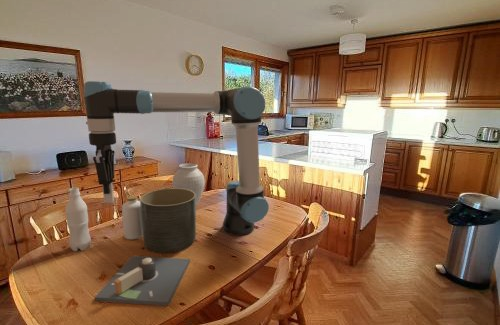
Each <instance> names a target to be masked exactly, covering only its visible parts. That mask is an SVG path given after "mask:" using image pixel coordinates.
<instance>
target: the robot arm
mask: <svg viewBox="0 0 500 325" xmlns="http://www.w3.org/2000/svg"><path fill="white" fill-rule="evenodd" d="M83 93H84V95H83V97H84V105H85V112H86V113H85V114H86V120H87V121H86V122H85V124H86V125H87V129H88V132H89V134H88V140H89V144H90V145H91V146H95V156H93V157H92V160H93V163H94V165H95V170H96V175H97V179H98V185H101V187H102V193H103V195H102V196H103V202H104V204H107V203H108V204H109V203H110V204H111V203H114V202H115V196H114V184H113V183H115V182H116V179H115V150H113V149H112V145H115V144H116V143H117V135H116V133H115V131H116V124H115V122H116V121H115V114H140V115H144V114H152V113H214V114H215V115H217V116H219V115H221V116H222V115H224V116H230V118H231V125H232V126H234V127H235V138H236V151H237V153H236V155H237V169H238V170H237V171H238V172H237V173H238V180H233V181H230V182H229V181H228V182H227V184H226V189H225V191H226V213H225V216H224V219H223V221H222V230H223V231H224V232H225V233H227V234H229V235H234V236H235V235H236V236H243V235H249V234H250V233H252V232H253V231H254V230H255V224H256V223H259V222H260V221H262V220H264V218H265V217H266V216H267V215H268V212H269V210H270V209H269V208H270V206H269V203H268V200H267V199H266V198H265V190H264V186H262V184H260V183H261V179H260V177H261V176H260V156H259V132H258V127H259V125H261V123H262V115H263V113H264V112H265V110H266V100H265V96H264V95H263V93H262V92H261V91H260V90H259V89H258V88H255V87H253V86H241V87H238V88H232V89H231V88H230V89H227V90H221V91H220V90H215V91H214V92H213V93H210V92H209V93H208V92H207V93H205V92H204V93H203V92H163V91H162V92H161V91H158V92H155V91H150V90H144V89H117V88H113V87H112V84H111V83H110V82H107V81H97V80H96V81H95V80H91V81H85V82H84V84H83Z"/></svg>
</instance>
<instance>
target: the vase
mask: <svg viewBox="0 0 500 325" xmlns="http://www.w3.org/2000/svg"><path fill="white" fill-rule="evenodd" d="M198 166H199V165H198V164H196V163H192V162H190V163H185V162H184V163H180V164H179V165H178V167H179V168H178V170H176V172H175V173H174V174H173V176H172V181H171V182H172V188H181V189H188V190H191V191H193V192H194V193H195V194H196V207H197V205H198V204H199V202H200V200H201V198H202V196H203V193H204V189H205V184H206V182H205V176H204V174H203V172H202V171H201V170H200V169H199V168H198Z"/></svg>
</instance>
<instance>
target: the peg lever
mask: <svg viewBox="0 0 500 325" xmlns="http://www.w3.org/2000/svg"><path fill="white" fill-rule="evenodd" d="M155 275H156V268H155V260H154V259H152V258H145V259H143V260H141V261H140V262H139V267H137V268H136V269H134V270H132V271H130V272H128V273H127V274H125V275H123V276H121V277H119V278H118V279H116V280H114V284H115V292H116V293H117V294H121V293H122V292H124V291H125V290H127V289H129V288H130V287H132V286H134V285H135V284H137V283H138V282H140V281H142V280H149V279H152V278H153V277H154V276H155Z"/></svg>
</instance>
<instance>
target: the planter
mask: <svg viewBox="0 0 500 325" xmlns="http://www.w3.org/2000/svg"><path fill="white" fill-rule="evenodd" d="M139 201H140V207H141V219H142V229H143V236H142V238H143V245H144V248H145V249H146V250H148V251H149V252H151V253H152V252H153V253H156V254H172V253H176V252H180V251H184V250H186V249H187V248H189V247H190V246H191V245H193V244H194V242H196V238H197V237H196V236H197V235H196V229H197V228H196V226H197V223H196V222H197V221H196V220H197V206H196V194H195V193H194V192H193V191H191V190H188V189H181V188H173V187H171V188H170V187H168V188H160V189H156V190H150V191H148V192H146V193H144V194H142V195H140V198H139Z"/></svg>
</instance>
